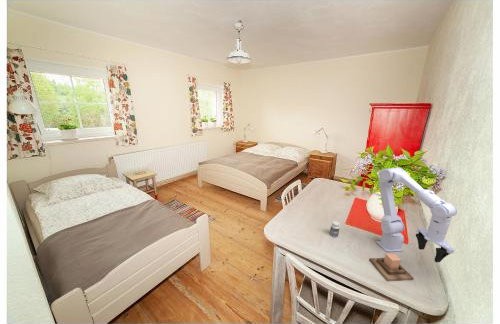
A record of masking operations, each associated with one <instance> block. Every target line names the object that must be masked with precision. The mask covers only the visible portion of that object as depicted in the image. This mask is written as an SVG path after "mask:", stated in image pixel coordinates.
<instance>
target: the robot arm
mask: <svg viewBox="0 0 500 324" xmlns="http://www.w3.org/2000/svg"><path fill="white" fill-rule="evenodd" d="M378 174H379V181H378V186H379V190H380V191H379V192H380V197H381V203H382V208H383V214H384V215H383V216H382V218H381V219H380V220H381V224H380V229H381V230H382V233H381V237H380V238H381V239H380V240H376V241H375V242H376V243H377V244H378V246H380V247H381V248H382V249H383V250H384V251H385V252H388V253H390V252H403V251H404V250H403V249H402V248H403V245H404V242H405V241H404V240H405V238H404V234H403V233H402V232H403V231H405V226H406V225H405V224H404V223H403V221H402V217H400V216H399V215H398V213H397V207H396V202H395V197H394V196H395V195H394V191H393V185H394V184H395V183H402V184H403V185H405V186H406V187H407V188H409V189H410V190H411V191H412V192H414V193H416V198H417V199H418V200H419V201H421V202H422V203H423V204H424V205H425V206H426V207H427V208H429V209H430V213H431V219H430V222H429V225H428V227H427V230H426V229H424V228H423V227H417V229H416V233H415V237H416V240H417V246H418V247H417V248H418V249H419V251H420V250H424V249H425V248H426V246H427V243H428V241H429V242H431V243H434V244H435V245H437V246H439V247H436V248H435V256H434V263H441V262H442V261H443V260H444V259H445V258H446V257H447V256H449V255H451V254H455V253H454V252H455V249H454V248H453V247H452V246H451V245H450V244H448V242H447V241H446V240H445V239H446V235H447V233H448V230H449V226H450V224H451V220H452V217H455V216H456V215H457V213H458V209H457V207H456V206H455V205H454V204H453V203H451V202H446V201H445V200H444V199H442V198H441V197H439V196H438V195H436V194H435V193H436V192H435V191H433V190H430V189H425V188H423V187H422V186H421V185H420V184H419V183H418V182H417V181H415V180H414V179H413V178H412V177H411V176H410V175H409V174H408V172H407V171H406V170H404V169H403V168H401V167H398V166H397V167H392V168H383V169H382V170H381V171H379V173H378Z"/></svg>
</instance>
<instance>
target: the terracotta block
mask: <svg viewBox="0 0 500 324" xmlns="http://www.w3.org/2000/svg"><path fill="white" fill-rule="evenodd" d="M384 258H385V259H384V264H385V265H386V267H387V268H388V269H389V270H398V268H399V264H400V265H401V261H402V260H401V259H400V258H399V256H397V255H396V254H395V253H385V256H384Z"/></svg>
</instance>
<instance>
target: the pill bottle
mask: <svg viewBox="0 0 500 324" xmlns="http://www.w3.org/2000/svg"><path fill="white" fill-rule="evenodd" d="M340 226H341V225H340V222H339V221H336V220H333V221H332V223H331V225H330V230H329V235H330V237H333V238H339V233H340V228H341V227H340Z"/></svg>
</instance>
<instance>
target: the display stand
mask: <svg viewBox="0 0 500 324" xmlns="http://www.w3.org/2000/svg"><path fill="white" fill-rule="evenodd" d="M384 259H385V257H370V258H369V260H368V261H369V262H370V263H371V264H372V265H373V266H374V268H375V269H376V270H377V271H378V272H379V274H380V275H381V276H382V277H383V278H384V279H385V280H386V281H387V282H398V281H399V282H403V281H414V276H412V275H411V274H410V273H409V272H408V271H407V270H406V269H405V268H404V267H403V266H402V265H401V263H400V264H399V268H398V270H389V269H388V268H387V267H386V265H385V264H384Z"/></svg>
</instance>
